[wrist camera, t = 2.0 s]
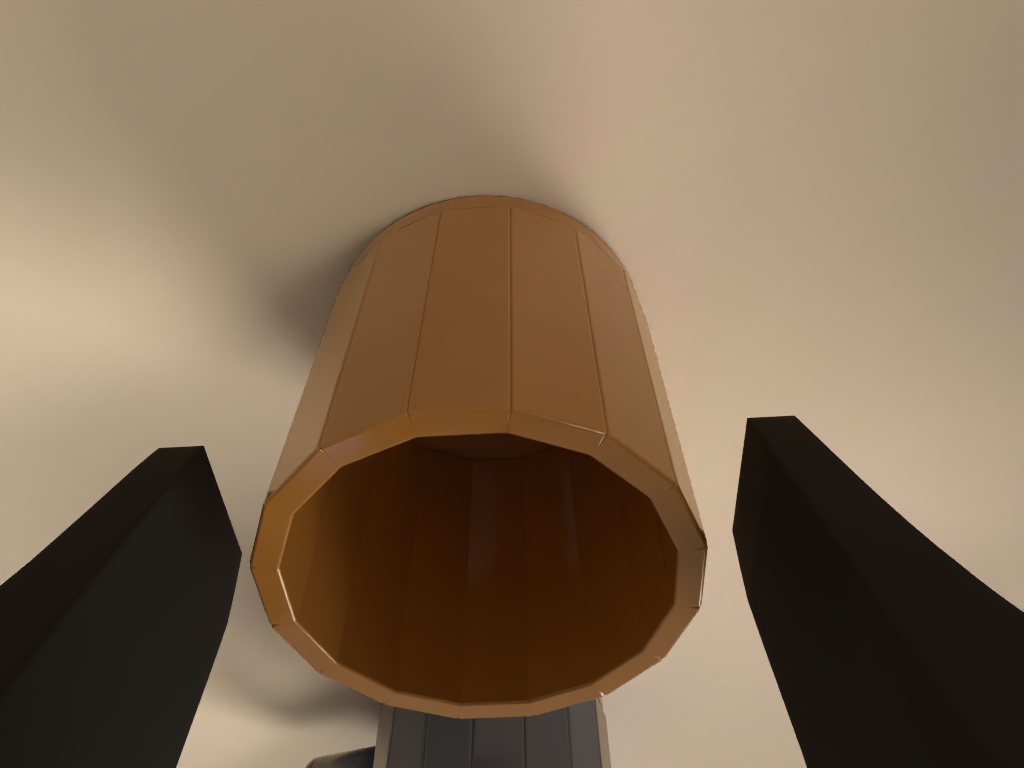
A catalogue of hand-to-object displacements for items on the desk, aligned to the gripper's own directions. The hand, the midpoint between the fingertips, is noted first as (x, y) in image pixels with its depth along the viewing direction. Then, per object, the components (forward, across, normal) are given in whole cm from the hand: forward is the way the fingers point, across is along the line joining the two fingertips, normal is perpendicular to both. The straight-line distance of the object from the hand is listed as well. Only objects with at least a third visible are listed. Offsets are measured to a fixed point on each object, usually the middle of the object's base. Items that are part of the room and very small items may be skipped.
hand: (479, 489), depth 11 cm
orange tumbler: (+4, 0, 0) cm, 4 cm away
